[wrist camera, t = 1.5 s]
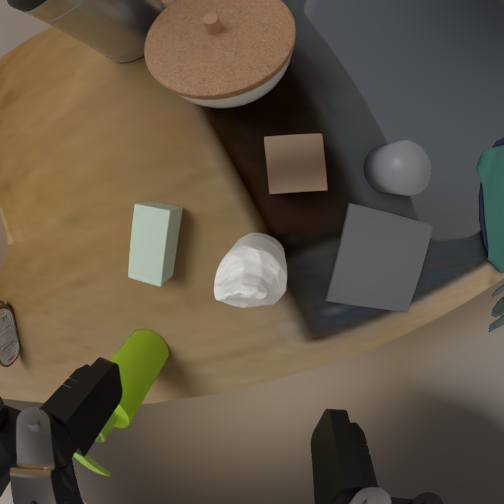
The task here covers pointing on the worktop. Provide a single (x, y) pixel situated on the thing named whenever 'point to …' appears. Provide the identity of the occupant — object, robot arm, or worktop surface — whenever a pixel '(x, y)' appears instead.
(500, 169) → the teal place setting
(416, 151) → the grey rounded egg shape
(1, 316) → the tin
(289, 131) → the worktop surface
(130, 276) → the sage bar
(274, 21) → the lidded bowl
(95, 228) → the worktop surface
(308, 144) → the walnut cube
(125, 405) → the soap dispenser
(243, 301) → the white tall lump
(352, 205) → the mat
